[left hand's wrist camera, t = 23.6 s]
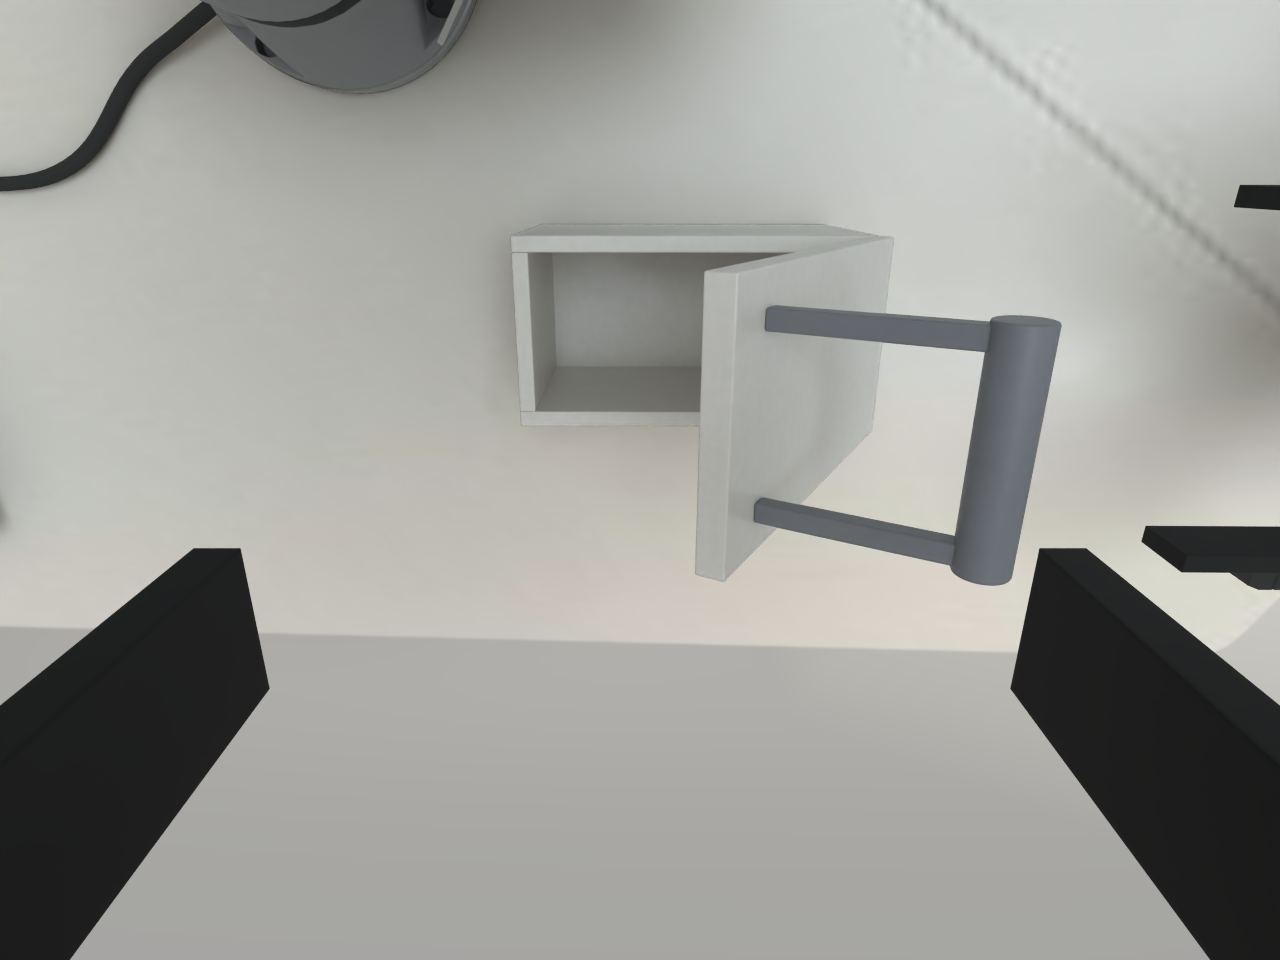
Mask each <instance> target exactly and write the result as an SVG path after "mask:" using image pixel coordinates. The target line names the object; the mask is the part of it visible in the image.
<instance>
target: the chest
mask: <svg viewBox="0 0 1280 960" xmlns="http://www.w3.org/2000/svg"><path fill="white" fill-rule="evenodd" d="M871 236H878V235H873V234H868V233H863V232H859V231H854V230H849V229H844V228H839V227H835V226H830V225H825V224H540V225H537V226H535V227H532V228H529V229H527V230H524V231H521V232H519V233H516V234H514V235H511V237H510V239H511V251H512V252H513V253H511V257H512V275H513V292H514V310H515V327H516V345H517V362H518V380H519V397H520V411H521V412H520V414H521V426H700V396H701V363H702V329H703V296H704V272H705V271H707V270H712V269H717V268H722V267H726V266H731V265H736V264H741V263H746V262H751V261H755V260H760V259H765V258H770V257H775V256H780V255H784V254H789V253H794V252H799V251H804V250H808V249H813V248H818V247H823V246H828V245H833V244H837V243H842V242H847V241H852V240H857V239H862V238H866V237H871Z"/></svg>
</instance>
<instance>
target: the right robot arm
mask: <svg viewBox="0 0 1280 960" xmlns="http://www.w3.org/2000/svg"><path fill="white" fill-rule="evenodd" d="M1234 207H1240V208H1255V209H1269V210H1280V185H1240V187H1239V190H1238V194H1237V197H1236V201H1235V205H1234ZM1142 542H1143V543H1144V544H1145V545H1147V546H1148V547H1149V548H1150V549H1152V550H1153V551H1154V552H1156V553H1157V554H1158V555H1160V556H1161V557H1162V558H1164V559H1165V560H1166V561H1167V562H1169V563H1170V564H1171V565H1173V566H1174V567H1175V568H1177V569H1178V570H1179V571H1181V572H1217V573H1231V574H1232V575H1234V576H1235V577H1237V578H1238V579H1239V580H1241V581H1242V582H1244V583H1245V584H1247V585H1248V586H1251V587H1253V588H1256V589H1258V590H1272V589H1274V590H1280V527H1244V526H1146V527H1145V531H1144V534H1143V538H1142Z"/></svg>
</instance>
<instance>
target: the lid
mask: <svg viewBox="0 0 1280 960" xmlns="http://www.w3.org/2000/svg"><path fill="white" fill-rule="evenodd" d="M893 244H894V237H887V236H871V237H866V238H862V239H857V240H852V241H847V242H842V243H837V244H833V245H828V246H823V247H818V248H813V249H808V250H804V251H799V252H794V253H789V254H784V255H780V256H775V257H770V258H765V259H760V260H755V261H751V262H746V263H741V264H736V265H731V266H726V267H722V268H717V269H712V270H707V271H705V272H704V296H703V329H702V363H701V396H700V429H699V462H698V496H697V529H696V562H695V574H696V575H699V576H703V577H707V578H711V579H714V580H718V581H722V582H724V581H725V580H726V579H727V578H728V577H729V576H730V575H731V574H732V573H733V572H734V571H735V570H736V569H737V568H738V567H739V566H740V565H741V564H742V563H743V562H744V561H745V560H746V559H747V558H748V557H749V556H750V555H751V554H752V553H753V552H754V551H755V550H756V549H757V548H758V547H759V546H760V545H761V544H762V543H763V542H764V541H765V540H766V538H767V537H768V536H769V535H770V534H771V533H772V532H773V531H774V530H775V529H776V528H782V529H786V530H791V531H795V532H800V533H804V534H809V535H813V536H818V537H823V538H827V539H832V540H836V541H841V542H845V543H850V544H854V545H859V546H864V547H868V548H873V549H877V550H882V551H886V552H891V553H895V554H900V555H905V556H909V557H914V558H918V559H923V560H927V561H932V562H936V563H941V564H946V565H950V568H951V570H952V572H953V573H954V574H955V575H956V576H958V577H960V578H962V579H964V580H966V581H969V582H972V583H976V584H981V585H991V586H993V585H1002V584H1005V583H1007V582H1009V581H1010V580H1011V578H1012V574H1013V569H1014V564H1015V559H1016V554H1017V549H1018V544H1019V538H1020V533H1021V528H1022V523H1023V518H1024V513H1025V508H1026V503H1027V498H1028V493H1029V488H1030V483H1031V478H1032V473H1033V467H1034V462H1035V457H1036V452H1037V447H1038V442H1039V437H1040V432H1041V427H1042V422H1043V417H1044V412H1045V407H1046V402H1047V396H1048V391H1049V386H1050V381H1051V376H1052V371H1053V366H1054V361H1055V356H1056V351H1057V346H1058V341H1059V336H1060V331H1061V323H1060V322H1059V321H1056V320H1053V319H1048V318H1042V317H1034V316H1017V315H1008V316H997V317H993V318H992V319H991V320H990V322H988V321H975V320H962V319H949V318H936V317H923V316H910V315H897V314H886V305H887V296H888V288H889V279H890V270H891V261H892V253H893ZM882 342H884V343H895V344H905V345H916V346H926V347H937V348H947V349H958V350H969V351H979V352H985V355H984V361H983V367H982V374H981V380H980V386H979V392H978V398H977V404H976V410H975V416H974V422H973V429H972V435H971V441H970V447H969V453H968V459H967V465H966V471H965V477H964V484H963V490H962V496H961V502H960V508H959V514H958V520H957V526H956V532H955V536H952V535H948V534H943V533H938V532H933V531H928V530H923V529H918V528H913V527H908V526H903V525H898V524H893V523H888V522H883V521H878V520H873V519H868V518H863V517H858V516H854V515H849V514H844V513H839V512H834V511H829V510H824V509H819V508H814V507H809V506H804V505H800V504H801V503H802V502H803V501H804V500H805V499H806V498H807V497H808V496H809V495H810V494H811V493H812V492H813V491H814V490H815V489H816V488H817V487H818V486H819V485H820V484H821V483H822V481H823V480H824V479H825V478H826V477H827V476H828V475H829V474H830V473H831V472H832V471H833V470H834V469H835V468H836V467H837V466H838V465H839V464H840V463H841V462H842V461H843V460H844V459H845V458H846V457H847V456H848V455H849V454H850V453H851V452H852V451H853V450H854V449H855V448H856V447H857V446H858V445H859V444H860V443H861V442H862V441H863V440H864V439H865V438H866V437H867V436H868V435H869V434H870V433H871V432H872V427H873V419H874V410H875V401H876V392H877V384H878V375H879V366H880V357H881V349H882Z"/></svg>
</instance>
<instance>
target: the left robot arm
mask: <svg viewBox="0 0 1280 960" xmlns="http://www.w3.org/2000/svg"><path fill="white" fill-rule="evenodd" d="M201 1H202V2H201V3H200V4H199V5H198V6H196V7H195V8H194V9H193V10H192V11H191V12H189V13H188V14H187V15H186V16H185V17H183V18H182V19H181V20H180V21H179V22H178V23H176V24H175V25H174V26H173V27H172V28H171V29H169V30H168V31H167V32H166V33H164V34H163V35H162V36H161V37H159V38H158V39H157V40H155V41H154V42H153V43H152V44H150V45H149V46H148V47H147V48H146V49H145V50H144V51H142V52H141V53H140V54H139V55H138V56H137V57H136V59H135V60H134V61H133V62H132V63H131V64H130V66H129V67H128V68H127V69H126V71H125V72H124V74H123V75H122V77H121V78H120V79H119V81H118V83H117V85H116V86H115V88H114V90H113V92H112V93H111V95H110V97H109V99H108V101H107V103H106V105H105V107H104V109H103V111H102V113H101V115H100V117H99V119H98V121H97V123H96V125H95V126H94V128H93V130H92V131H91V133H90V134H89V136H88V137H87V139H86V140H85V141H84V142H83V144H82V145H81V146H80V147H79V148H78V149H77V150H76V151H75V152H74V153H73V154H72V155H70V156H69V157H67V158H66V159H65V160H63V161H61V162H60V163H58V164H56V165H54V166H52V167H50V168H47V169H45V170H42V171H39V172H36V173H31V174H26V175H20V176H10V177H0V191H12V190H24V189H32V188H37V187H42V186H46V185H50V184H53V183H56V182H58V181H61V180H63V179H65V178H67V177H69V176H71V175H73V174H74V173H76V172H77V171H79V170H80V169H82V168H83V167H84V166H86V165H87V164H88V163H89V162H90V161H91V160H92V159H93V158H94V157H95V156H96V155H97V153H98V152H99V151H100V150H101V148H102V147H103V146H104V144H105V143H106V141H107V139H108V138H109V136H110V135H111V133H112V131H113V129H114V127H115V125H116V123H117V121H118V119H119V117H120V115H121V113H122V112H123V110H124V108H125V106H126V104H127V102H128V100H129V98H130V97H131V95H132V93H133V92H134V90H135V89H136V87H137V86H138V84H139V83H140V81H141V80H142V79H143V78H144V77H145V75H146V74H147V73H148V72H149V71H150V70H151V69H152V68H153V67H154V66H155V65H156V64H157V63H158V62H159V61H160V60H162V59H163V58H164V57H165V56H167V55H168V54H169V53H171V52H172V51H173V50H175V49H176V48H177V47H178V46H180V45H181V44H182V43H183V42H185V41H186V40H187V39H188V38H189V37H191V36H192V35H193V34H194V33H195V32H197V31H198V30H199V29H200V28H201V27H203V26H204V25H205V24H206V23H207V22H209V21H210V20H211V19H212V18H213V17H215V16H216V15H218V16H219V18H220V19H221V20H222V21H223V23H224V24H225V25H226V26H227V27H228V28H229V30H230V31H231V32H232V33H233V34H234V35H235V36H236V37H237V38H238V39H239V40H240V41H241V42H242V43H243V44H245V45H246V46H247V47H248V48H249V49H250V50H252V51H253V52H254V53H255V54H257V55H258V56H259V57H261V58H262V59H263V60H265V61H266V62H267V63H269V64H270V65H272V66H273V67H275V68H277V69H278V70H280V71H281V72H283V73H285V74H287V75H289V76H291V77H293V78H295V79H298V80H300V81H303V82H305V83H308V84H311V85H314V86H317V87H321V88H325V89H328V90H332V91H338V92H344V93H358V94H360V93H374V92H380V91H386V90H389V89H393V88H396V87H399V86H402V85H404V84H406V83H409V82H411V81H413V80H414V79H416V78H418V77H420V76H422V75H423V74H424V73H426V72H427V71H429V70H430V69H431V68H433V67H434V66H435V65H436V64H437V63H438V62H439V61H440V60H441V59H442V58H443V57H444V56H445V55H446V54H447V53H448V52H449V51H450V50H451V48H452V47H453V46H454V44H455V43H456V41H457V40H458V39H459V37H460V36H461V34H462V32H463V30H464V29H465V27H466V25H467V23H468V21H469V19H470V16H471V14H472V12H473V9H474V6H475V3H476V0H201ZM268 690H269V684H268V679H267V674H266V669H265V665H264V660H263V655H262V650H261V645H260V640H259V635H258V631H257V626H256V621H255V616H254V611H253V607H252V602H251V597H250V592H249V587H248V582H247V578H246V573H245V568H244V563H243V558H242V554H241V549H240V548H194V549H192V550H191V551H190V552H189V553H188V554H186V555H185V556H184V557H183V558H181V559H180V560H179V561H178V562H176V563H175V564H174V565H173V566H172V567H170V568H169V569H168V570H167V571H165V572H164V573H163V574H162V575H160V576H159V577H158V578H157V579H155V580H154V581H153V582H152V583H151V584H149V585H148V586H147V587H146V588H144V589H143V590H142V591H141V592H139V593H138V594H137V595H136V596H135V597H133V598H132V599H131V600H130V601H128V602H127V603H126V604H125V605H123V606H122V607H121V608H120V609H119V610H117V611H116V612H115V613H114V614H112V615H111V616H110V617H109V618H107V619H106V620H105V621H104V622H103V623H101V624H100V625H99V626H98V627H96V628H95V629H94V630H93V631H91V632H90V633H89V634H88V635H87V636H85V637H84V638H83V639H82V640H80V641H79V642H78V643H77V644H75V645H74V646H73V647H72V648H71V649H69V650H68V651H67V652H66V653H64V654H63V655H62V656H61V657H59V658H58V659H57V660H56V661H55V662H53V663H52V664H51V665H50V666H48V667H47V668H46V669H45V670H43V671H42V672H41V673H40V674H38V675H37V676H36V677H35V678H34V679H32V680H31V681H30V682H29V683H27V684H26V685H25V686H24V687H22V688H21V689H20V690H19V691H18V692H16V693H15V694H14V695H13V696H11V697H10V698H9V699H8V700H6V701H5V702H4V703H3V704H2V705H0V960H70V959H71V957H72V956H73V955H74V953H75V952H76V951H77V949H78V948H79V947H80V945H81V944H82V942H83V941H84V940H85V938H86V937H87V936H88V934H89V933H90V932H91V930H92V929H93V928H94V926H95V925H96V923H97V922H98V921H99V919H100V918H101V917H102V915H103V914H104V913H105V911H106V910H107V909H108V907H109V906H110V904H111V903H112V902H113V900H114V899H115V898H116V896H117V895H118V894H119V892H120V891H121V890H122V888H123V887H124V886H125V884H126V883H127V881H128V880H129V879H130V877H131V876H132V875H133V873H134V872H135V871H136V869H137V868H138V866H139V865H140V864H141V862H142V861H143V860H144V858H145V857H146V856H147V854H148V853H149V852H150V850H151V849H152V847H153V846H154V845H155V843H156V842H157V841H158V839H159V838H160V837H161V835H162V834H163V833H164V831H165V830H166V828H167V827H168V826H169V824H170V823H171V822H172V820H173V819H174V818H175V816H176V815H177V814H178V812H179V811H180V810H181V808H182V807H183V805H184V804H185V803H186V801H187V800H188V799H189V797H190V796H191V795H192V793H193V792H194V790H195V789H196V788H197V786H198V785H199V784H200V782H201V781H202V780H203V778H204V777H205V776H206V774H207V773H208V772H209V770H210V769H211V767H212V766H213V765H214V763H215V762H216V761H217V759H218V758H219V757H220V755H221V754H222V753H223V751H224V750H225V748H226V747H227V746H228V744H229V743H230V742H231V740H232V739H233V738H234V736H235V735H236V734H237V732H238V731H239V729H240V728H241V727H242V725H243V724H244V723H245V721H246V720H247V719H248V717H249V716H250V715H251V713H252V712H253V710H254V709H255V708H256V706H257V705H258V704H259V702H260V701H261V700H262V698H263V697H264V695H265V694H266V693H267V691H268ZM1011 690H1012V691H1013V693H1014V694H1015V696H1016V697H1017V698H1018V700H1019V701H1020V702H1021V704H1022V705H1023V706H1024V708H1025V709H1026V710H1027V712H1028V713H1029V715H1030V716H1031V717H1032V719H1033V720H1034V721H1035V723H1036V724H1037V725H1038V727H1039V728H1040V729H1041V731H1042V732H1043V734H1044V735H1045V736H1046V738H1047V739H1048V740H1049V742H1050V743H1051V744H1052V746H1053V747H1054V748H1055V750H1056V751H1057V752H1058V754H1059V755H1060V757H1061V758H1062V759H1063V761H1064V762H1065V763H1066V765H1067V766H1068V767H1069V769H1070V770H1071V772H1072V773H1073V774H1074V776H1075V777H1076V778H1077V780H1078V781H1079V782H1080V784H1081V785H1082V786H1083V788H1084V789H1085V791H1086V792H1087V793H1088V795H1089V796H1090V797H1091V799H1092V800H1093V801H1094V803H1095V804H1096V805H1097V807H1098V808H1099V809H1100V811H1101V812H1102V814H1103V815H1104V816H1105V818H1106V819H1107V820H1108V822H1109V823H1110V824H1111V826H1112V827H1113V829H1114V830H1115V831H1116V833H1117V834H1118V835H1119V837H1120V838H1121V839H1122V841H1123V842H1124V843H1125V845H1126V846H1127V847H1128V849H1129V850H1130V852H1131V853H1132V854H1133V856H1134V857H1135V858H1136V860H1137V861H1138V862H1139V864H1140V865H1141V866H1142V868H1143V869H1144V871H1145V872H1146V873H1147V875H1148V876H1149V877H1150V879H1151V880H1152V881H1153V883H1154V884H1155V885H1156V887H1157V888H1158V890H1159V891H1160V892H1161V894H1162V895H1163V896H1164V898H1165V899H1166V900H1167V902H1168V903H1169V905H1170V906H1171V907H1172V909H1173V910H1174V911H1175V913H1176V914H1177V915H1178V917H1179V918H1180V919H1181V921H1182V922H1183V923H1184V925H1185V926H1186V928H1187V929H1188V930H1189V932H1190V933H1191V934H1192V936H1193V937H1194V938H1195V940H1196V941H1197V942H1198V944H1199V945H1200V947H1201V948H1202V949H1203V951H1204V952H1205V953H1206V955H1207V956H1208V957H1209V959H1210V960H1280V705H1278V704H1277V703H1276V702H1275V701H1274V700H1272V699H1271V698H1270V697H1269V696H1267V695H1266V694H1265V693H1264V692H1262V691H1261V690H1260V689H1259V688H1257V687H1256V686H1255V685H1254V684H1253V683H1251V682H1250V681H1249V680H1248V679H1246V678H1245V677H1244V676H1243V675H1241V674H1240V673H1239V672H1238V671H1237V670H1235V669H1234V668H1233V667H1232V666H1230V665H1229V664H1228V663H1227V662H1225V661H1224V660H1223V659H1222V658H1221V657H1219V656H1218V655H1217V654H1216V653H1214V652H1213V651H1212V650H1211V649H1209V648H1208V647H1207V646H1206V645H1205V644H1203V643H1202V642H1201V641H1200V640H1198V639H1197V638H1196V637H1195V636H1193V635H1192V634H1191V633H1190V632H1189V631H1187V630H1186V629H1185V628H1184V627H1182V626H1181V625H1180V624H1179V623H1177V622H1176V621H1175V620H1174V619H1173V618H1171V617H1170V616H1169V615H1168V614H1166V613H1165V612H1164V611H1163V610H1161V609H1160V608H1159V607H1158V606H1157V605H1155V604H1154V603H1153V602H1152V601H1150V600H1149V599H1148V598H1147V597H1145V596H1144V595H1143V594H1142V593H1141V592H1139V591H1138V590H1137V589H1136V588H1134V587H1133V586H1132V585H1131V584H1129V583H1128V582H1127V581H1126V580H1125V579H1123V578H1122V577H1121V576H1120V575H1118V574H1117V573H1116V572H1115V571H1113V570H1112V569H1111V568H1110V567H1108V566H1107V565H1106V564H1105V563H1104V562H1102V561H1101V560H1100V559H1099V558H1097V557H1096V556H1095V555H1094V554H1092V553H1091V552H1090V551H1089V550H1088V549H1086V548H1040V549H1039V554H1038V558H1037V563H1036V568H1035V573H1034V578H1033V582H1032V587H1031V592H1030V597H1029V602H1028V607H1027V611H1026V616H1025V621H1024V626H1023V631H1022V635H1021V640H1020V645H1019V650H1018V655H1017V660H1016V664H1015V669H1014V674H1013V679H1012V684H1011Z"/></svg>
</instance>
